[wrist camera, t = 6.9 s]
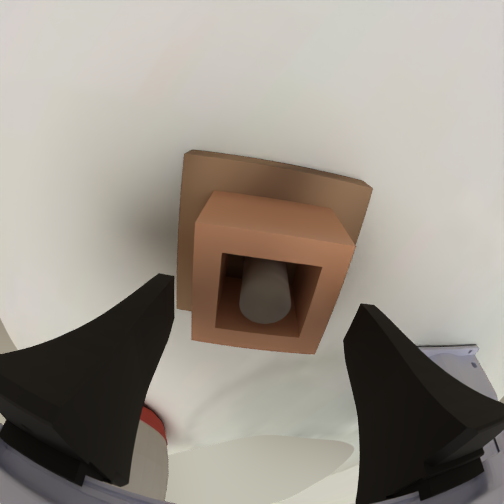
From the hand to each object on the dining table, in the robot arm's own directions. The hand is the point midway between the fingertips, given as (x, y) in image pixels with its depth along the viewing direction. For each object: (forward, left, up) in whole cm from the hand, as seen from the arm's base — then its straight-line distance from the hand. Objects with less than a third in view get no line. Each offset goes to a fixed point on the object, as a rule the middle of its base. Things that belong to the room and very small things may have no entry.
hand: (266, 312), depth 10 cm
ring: (0, 0, -4) cm, 4 cm away
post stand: (0, 0, -6) cm, 6 cm away
